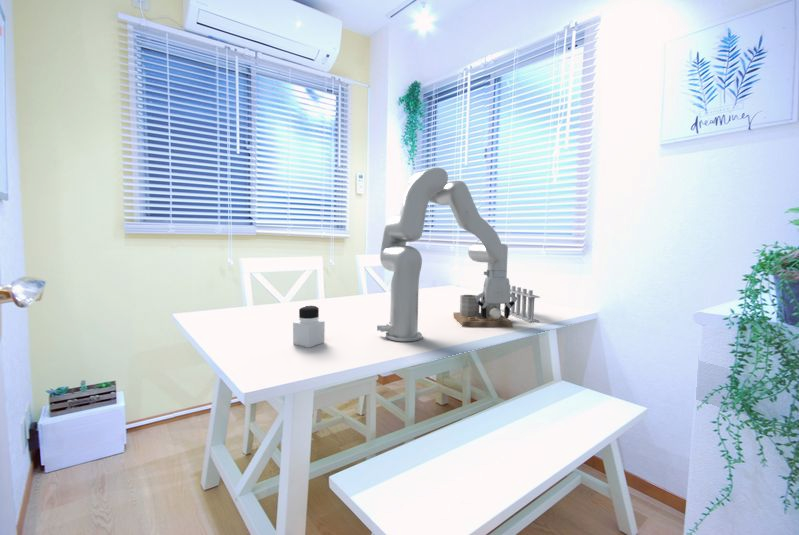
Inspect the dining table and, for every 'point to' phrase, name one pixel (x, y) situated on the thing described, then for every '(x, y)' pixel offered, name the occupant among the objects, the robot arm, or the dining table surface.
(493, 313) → the ball cream
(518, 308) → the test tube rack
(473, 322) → the stand
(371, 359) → the dining table surface
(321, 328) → the medicine bottle
